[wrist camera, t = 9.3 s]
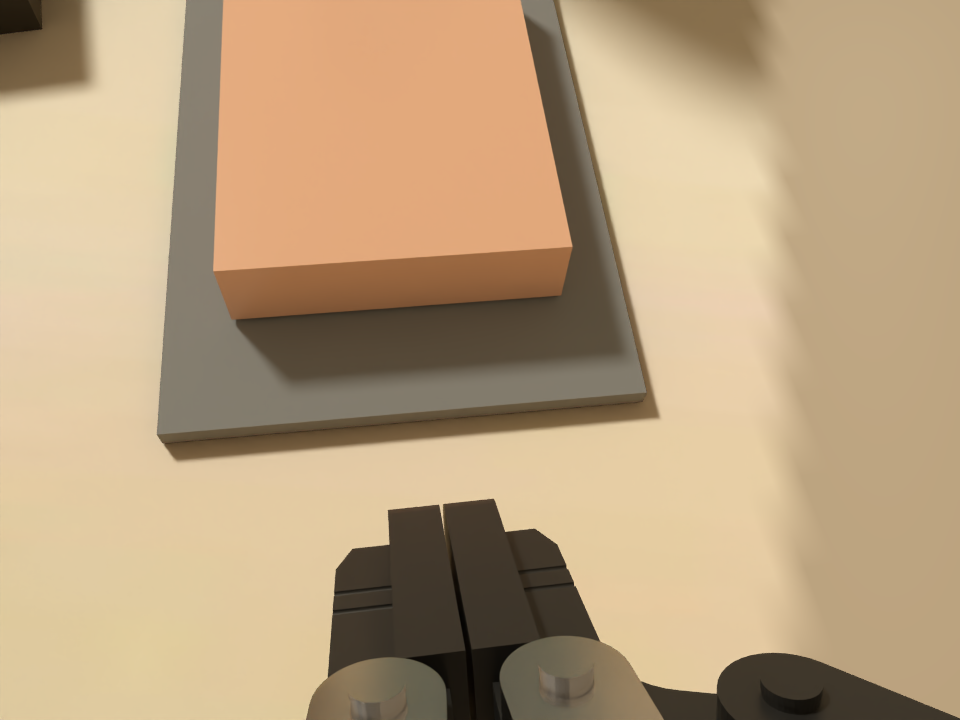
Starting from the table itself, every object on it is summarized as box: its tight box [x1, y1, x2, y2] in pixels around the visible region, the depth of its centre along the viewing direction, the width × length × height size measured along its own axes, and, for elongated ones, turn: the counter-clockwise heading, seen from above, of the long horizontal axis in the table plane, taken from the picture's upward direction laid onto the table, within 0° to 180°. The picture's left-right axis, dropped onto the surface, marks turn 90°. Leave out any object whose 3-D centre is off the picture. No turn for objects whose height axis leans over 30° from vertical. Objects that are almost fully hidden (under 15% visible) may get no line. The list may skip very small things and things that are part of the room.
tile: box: [213, 0, 572, 320], centre depth 29 cm, size 10×3×14 cm
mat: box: [157, 0, 647, 443], centre depth 30 cm, size 14×19×1 cm
